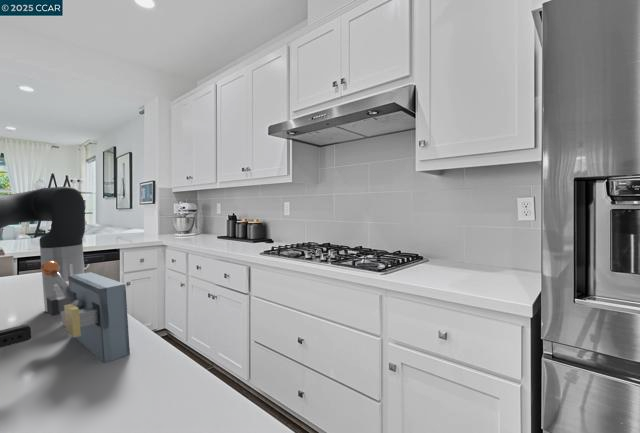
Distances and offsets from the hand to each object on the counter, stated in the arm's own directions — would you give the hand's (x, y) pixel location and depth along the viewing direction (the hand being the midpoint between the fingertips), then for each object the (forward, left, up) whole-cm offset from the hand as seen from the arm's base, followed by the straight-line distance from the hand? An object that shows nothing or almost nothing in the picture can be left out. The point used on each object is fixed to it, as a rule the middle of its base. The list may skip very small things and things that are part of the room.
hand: (29, 331), depth 52 cm
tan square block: (-1, +7, -2) cm, 7 cm away
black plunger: (-15, +5, -1) cm, 16 cm away
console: (-8, +10, -8) cm, 15 cm away
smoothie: (-28, +8, -8) cm, 30 cm away
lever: (-8, +7, +1) cm, 10 cm away
